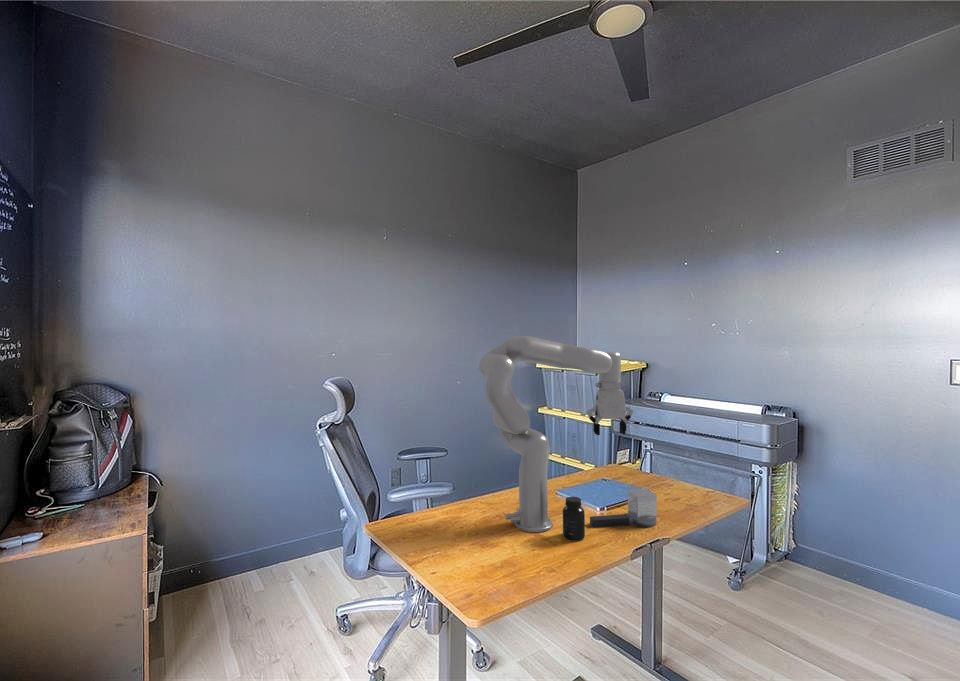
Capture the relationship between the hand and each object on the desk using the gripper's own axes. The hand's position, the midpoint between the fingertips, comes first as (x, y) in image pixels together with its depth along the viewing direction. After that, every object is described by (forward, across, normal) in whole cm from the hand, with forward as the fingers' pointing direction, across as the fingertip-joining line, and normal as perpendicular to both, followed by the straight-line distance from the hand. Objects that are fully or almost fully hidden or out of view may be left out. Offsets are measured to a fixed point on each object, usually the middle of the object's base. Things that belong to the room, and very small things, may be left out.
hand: (609, 434), depth 164 cm
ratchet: (+28, 0, -10) cm, 30 cm away
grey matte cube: (+25, +7, -10) cm, 28 cm away
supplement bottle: (+28, -20, -17) cm, 39 cm away
